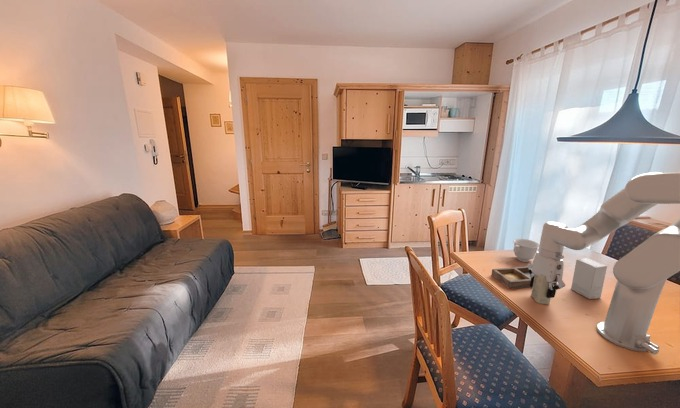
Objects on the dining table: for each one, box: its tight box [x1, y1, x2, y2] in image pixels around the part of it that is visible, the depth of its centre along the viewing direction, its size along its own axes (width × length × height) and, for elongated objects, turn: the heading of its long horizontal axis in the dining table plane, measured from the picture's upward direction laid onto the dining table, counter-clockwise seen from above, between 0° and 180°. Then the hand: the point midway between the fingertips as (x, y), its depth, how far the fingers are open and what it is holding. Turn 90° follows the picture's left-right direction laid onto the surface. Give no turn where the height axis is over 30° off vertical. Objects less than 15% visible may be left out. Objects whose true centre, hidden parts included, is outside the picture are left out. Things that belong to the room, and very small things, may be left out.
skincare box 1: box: [530, 274, 554, 305], centre depth 109 cm, size 6×4×12 cm
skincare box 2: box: [570, 257, 608, 300], centre depth 113 cm, size 8×6×15 cm
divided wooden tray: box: [491, 265, 554, 290], centre depth 126 cm, size 12×23×3 cm, turn 98°
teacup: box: [512, 238, 540, 263], centre depth 144 cm, size 12×15×10 cm
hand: (541, 291), depth 110 cm, fingers open, 7 cm apart
